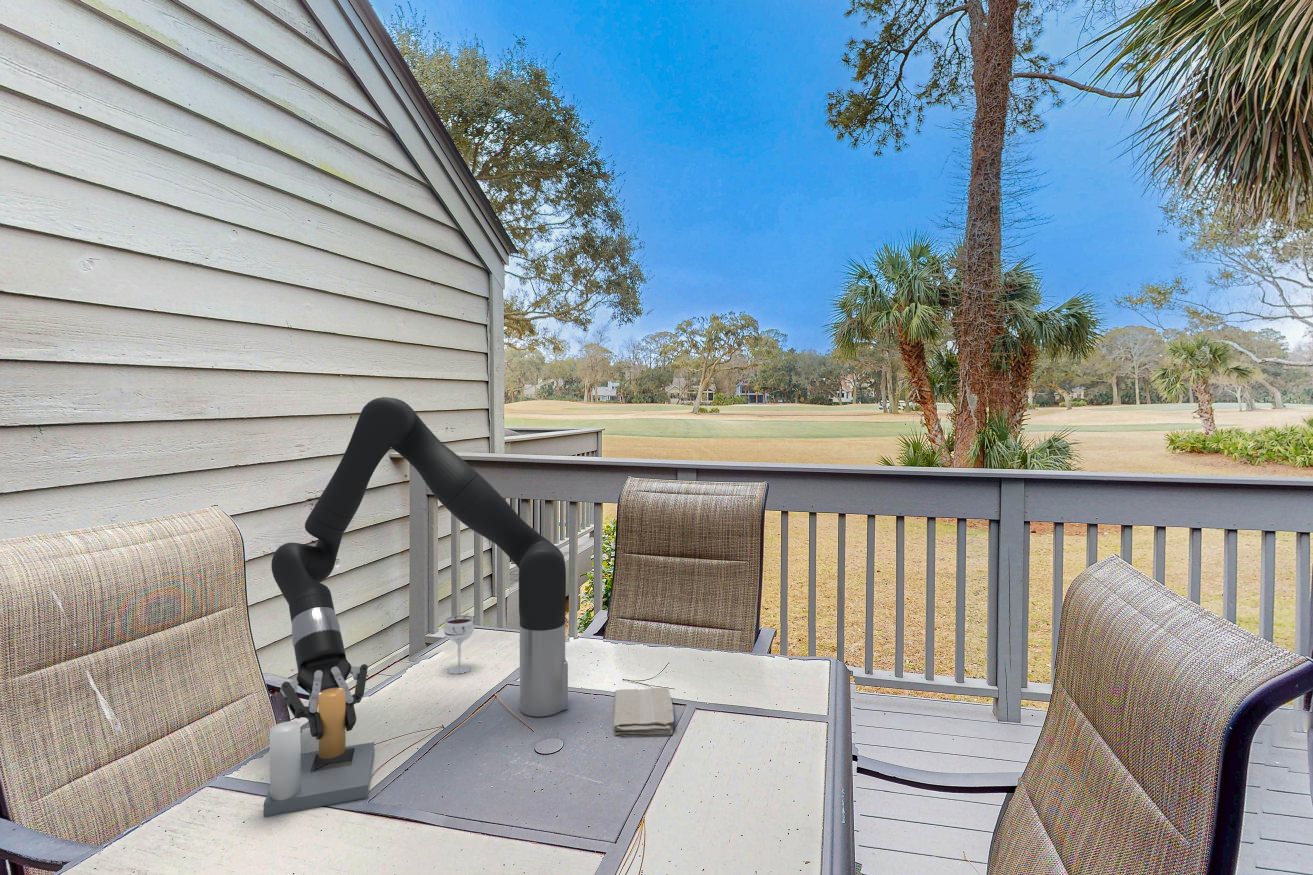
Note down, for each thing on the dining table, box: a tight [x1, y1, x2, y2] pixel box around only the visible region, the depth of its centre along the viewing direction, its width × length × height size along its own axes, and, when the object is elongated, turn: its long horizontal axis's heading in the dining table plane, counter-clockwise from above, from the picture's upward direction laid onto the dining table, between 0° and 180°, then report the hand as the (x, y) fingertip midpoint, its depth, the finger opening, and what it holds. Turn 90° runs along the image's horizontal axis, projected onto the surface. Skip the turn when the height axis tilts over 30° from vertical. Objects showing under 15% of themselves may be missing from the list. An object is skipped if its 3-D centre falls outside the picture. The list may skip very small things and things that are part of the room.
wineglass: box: [443, 614, 475, 675], centre depth 148 cm, size 7×7×12 cm
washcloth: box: [612, 687, 675, 738], centre depth 126 cm, size 12×18×3 cm, turn 4°
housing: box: [263, 720, 375, 818], centre depth 102 cm, size 14×14×12 cm
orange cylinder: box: [317, 688, 347, 759], centre depth 105 cm, size 4×4×10 cm
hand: (335, 732), depth 103 cm, fingers closed on orange cylinder, 4 cm apart
